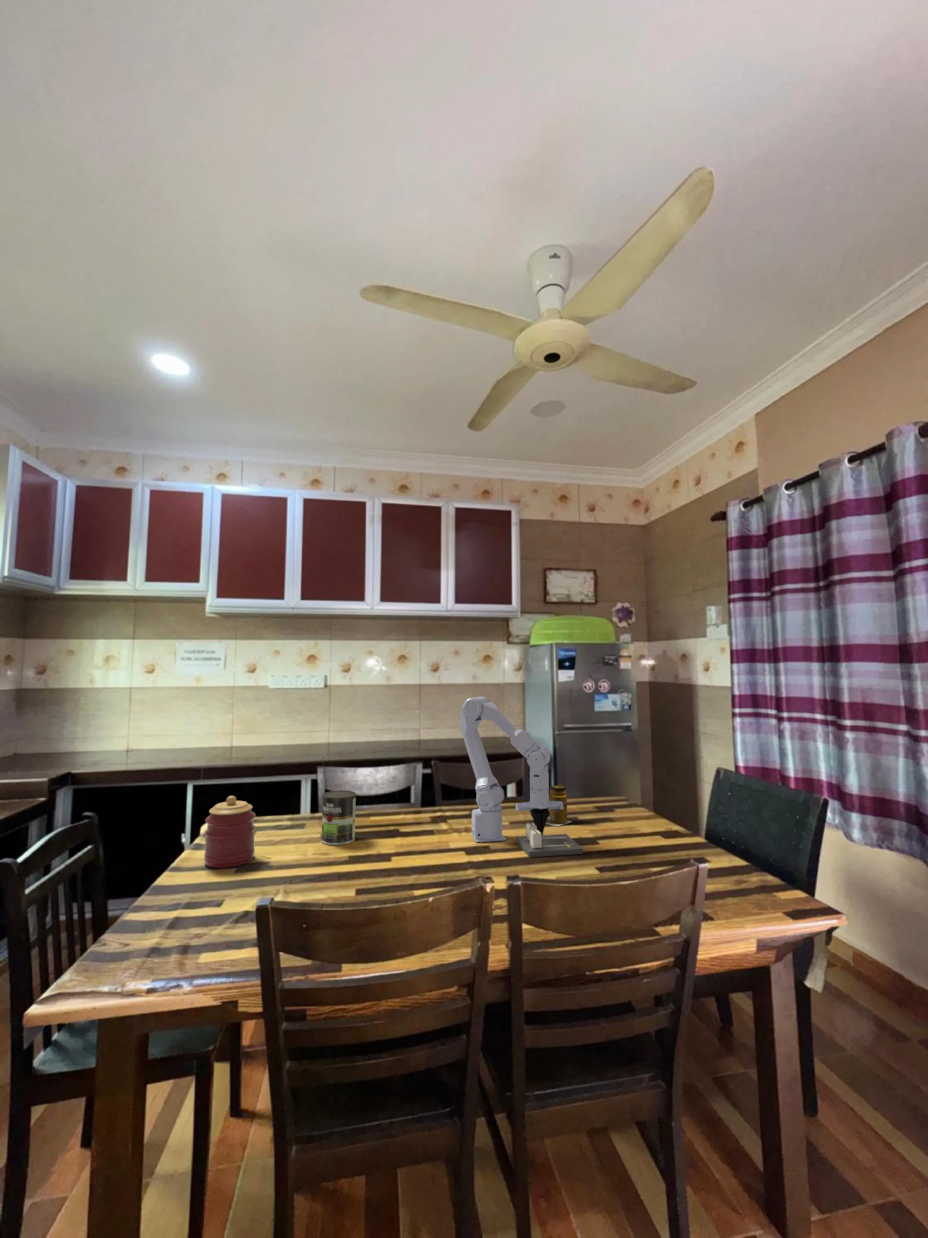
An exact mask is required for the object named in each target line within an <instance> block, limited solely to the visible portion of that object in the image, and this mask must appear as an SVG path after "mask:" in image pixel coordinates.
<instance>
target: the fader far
mask: <svg viewBox="0 0 928 1238" xmlns="http://www.w3.org/2000/svg"><path fill="white" fill-rule="evenodd" d="M530 830H537V826H536V825H535V823H534V822H528V823H527V822H525V836H526V837H527V839H528V840H530Z"/></svg>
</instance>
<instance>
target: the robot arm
mask: <svg viewBox="0 0 928 1238" xmlns="http://www.w3.org/2000/svg"><path fill="white" fill-rule="evenodd" d="M460 710H461V717H460V722H459V723H460V724H459V729H460V731H461V735H462V738H463V741H464V745H465V748H466V751H467V754H468V758H469V761H470V763H471V767H472V771H473V773H474V776H475V779H476V782H475V792H476V797H475V798H476V799H475V801H476V805H477V806H478V808H476V809H472V811H471V836H472V838H473V839H474V841H475V843H484V842H485V843H486V842H499V841H500V842H501V841H503V842H504V841H506V837H505V836H504V834H503V807H502V806H503V805H502V802H503V801H504V799H505V791H504V789H503V788H502V787H501V785H500V784H499V781H498V779H496V777H495V776H494V775H493V772H492V770H491V767H490V763H489V759H488V757H487V755H486V750H485V748H484V744H483V742H482V739H481V735H480V733H479V730H478V727H479V725H480V723H481V721H482V720H487V721H488V720H489V721H492V722H493V724H495V725H496V726H497V727H498V728H499V729H501V730H502V731H503V732H504V733H505V734H506V735H507V736H508V737H509V739H510V744H511V745H512V746H513V747H514V748H515V749H516V750H517V751H518V752H519V753H520V754H521V755H522V756H523V757H524V758H525V759H526V762H527V764H528V767H529V801H525V802H520V803H519V802H517V803H515V811H516V812H521V811H522V812H525V811H529V812H530V815H531V817H532V820H533V823H534V824H535V825H536V826H537V830H538V831H539V832H540V833H541V835H544V831H545V826H546V825H547V824H546V821H547V820H548V819H549V818H550V810H549V809H563V802H561V801H559V802H557V801H549V795H550V785H549V784H550V783H549V775H550V774H549V765H548V764H549V763H550V761H551V754H550V752H549V751H548V749H547V748H546V747H543V746H542V745H541V744H540V743H539V742H538V743H537V742H536V741H535V740H534V739H533V738H532V737H531V733H530V732H529V731H528V730H526V731H525V730H524V729H518V728H517V727H516V726H515V725H514V724H513V723H512V722H511V721H510V720H509V718H507V716H505V714H503V712H502V711H501V710H500V709H499V708H498V706H497V705H496V704H495V703H494V702H492V701H491V700H490V699H489V698H488V697H487V696H484V695H480V696H476V697H469V698H467V699H466V700H465V701H464V703H463V704H462V706H461V707H460Z"/></svg>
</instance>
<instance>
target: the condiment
mask: <svg viewBox="0 0 928 1238" xmlns="http://www.w3.org/2000/svg"><path fill="white" fill-rule="evenodd" d="M566 793H567V792H566V786H564V785H561V784H560V785H559V784H557V785H556V784H555V785H554V784H553V785H551V786H549V801H557V802H559V801H561V802H563V809H549V811H550V815H549V818H548V819H547V821H546V824H545V825H550V826H554V827H561V826H563V825H564V826H565V825H567V824H569V823H572V822H573V821H572V820H568V797H567V794H566Z"/></svg>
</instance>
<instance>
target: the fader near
mask: <svg viewBox="0 0 928 1238" xmlns="http://www.w3.org/2000/svg"><path fill="white" fill-rule="evenodd" d="M530 845H531V846H532V847H533V848H542V846H541V833H540V832H539V831H538V830H530Z"/></svg>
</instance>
